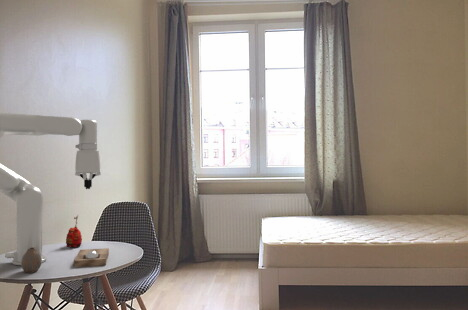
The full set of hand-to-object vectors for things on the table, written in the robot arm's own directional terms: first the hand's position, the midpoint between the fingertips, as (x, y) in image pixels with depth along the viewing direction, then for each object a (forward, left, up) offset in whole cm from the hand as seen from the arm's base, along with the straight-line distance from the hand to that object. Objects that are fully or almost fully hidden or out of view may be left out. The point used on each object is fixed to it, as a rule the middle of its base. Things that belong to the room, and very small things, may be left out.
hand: (88, 188), depth 179 cm
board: (+3, -11, -29) cm, 31 cm away
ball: (+3, -16, -27) cm, 31 cm away
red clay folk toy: (-8, +16, -29) cm, 34 cm away
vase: (-18, -22, -29) cm, 41 cm away
